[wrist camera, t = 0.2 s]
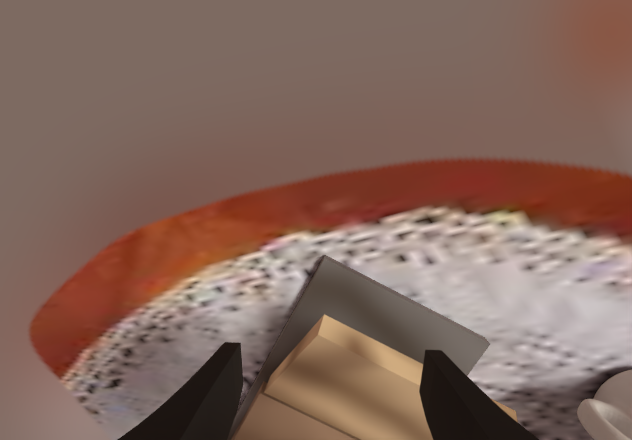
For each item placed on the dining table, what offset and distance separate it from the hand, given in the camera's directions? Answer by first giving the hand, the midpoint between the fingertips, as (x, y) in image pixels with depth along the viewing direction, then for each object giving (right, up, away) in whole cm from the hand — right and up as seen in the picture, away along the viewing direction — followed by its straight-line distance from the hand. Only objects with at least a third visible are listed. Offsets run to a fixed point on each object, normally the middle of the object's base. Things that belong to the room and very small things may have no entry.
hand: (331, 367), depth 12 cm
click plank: (+3, -5, +7) cm, 10 cm away
